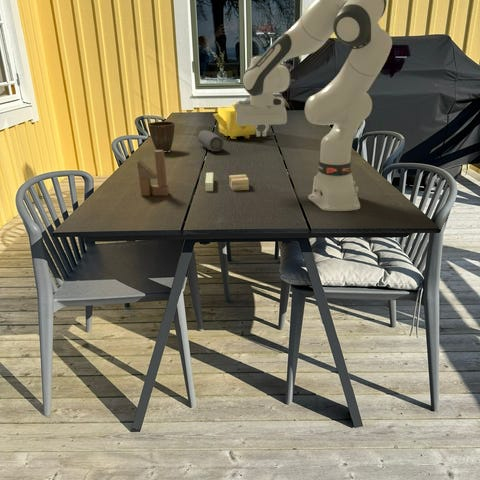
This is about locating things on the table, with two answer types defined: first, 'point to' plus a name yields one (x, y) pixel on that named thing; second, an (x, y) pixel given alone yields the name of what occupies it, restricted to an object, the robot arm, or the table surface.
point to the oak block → (239, 182)
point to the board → (209, 182)
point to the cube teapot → (232, 123)
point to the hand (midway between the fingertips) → (261, 136)
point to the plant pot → (162, 134)
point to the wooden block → (153, 177)
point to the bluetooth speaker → (210, 140)
